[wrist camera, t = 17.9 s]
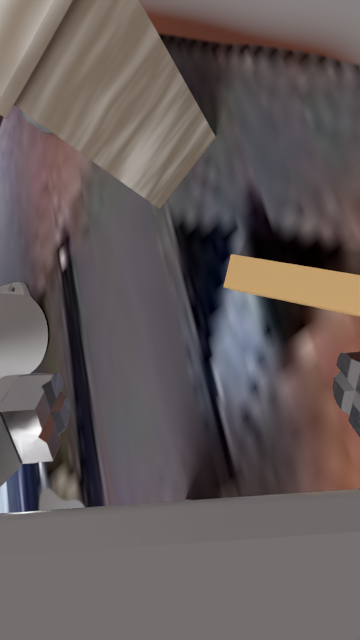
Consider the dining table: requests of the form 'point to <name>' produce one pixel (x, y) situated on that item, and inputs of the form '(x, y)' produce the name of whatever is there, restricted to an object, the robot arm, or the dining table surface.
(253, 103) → the dining table surface
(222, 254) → the dining table surface
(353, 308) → the ochre bar
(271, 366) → the dining table surface
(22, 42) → the birch pedestal
